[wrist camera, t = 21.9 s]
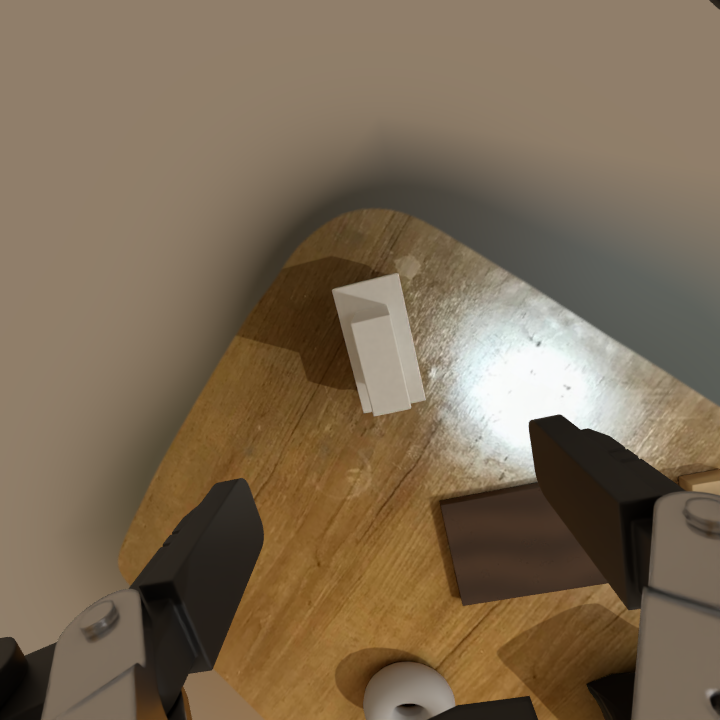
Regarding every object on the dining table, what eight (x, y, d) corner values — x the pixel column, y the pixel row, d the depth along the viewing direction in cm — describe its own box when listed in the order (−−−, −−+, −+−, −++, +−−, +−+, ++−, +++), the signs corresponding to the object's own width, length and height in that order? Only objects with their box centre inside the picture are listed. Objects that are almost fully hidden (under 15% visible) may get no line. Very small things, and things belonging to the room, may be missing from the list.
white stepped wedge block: (365, 396, 33) (360, 449, 23) (337, 287, 31) (319, 295, 21) (419, 384, 32) (438, 433, 23) (395, 272, 30) (404, 273, 20)
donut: (378, 642, 40) (352, 707, 42) (379, 676, 36) (350, 745, 39) (464, 666, 40) (434, 729, 42) (473, 701, 37) (439, 768, 39)
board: (439, 500, 35) (440, 505, 34) (611, 468, 34) (616, 473, 33) (461, 599, 38) (462, 606, 37) (620, 573, 36) (626, 580, 36)
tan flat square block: (678, 476, 33) (692, 485, 32) (720, 468, 33) (735, 477, 32) (679, 509, 34) (693, 519, 33) (720, 502, 34) (735, 512, 32)
